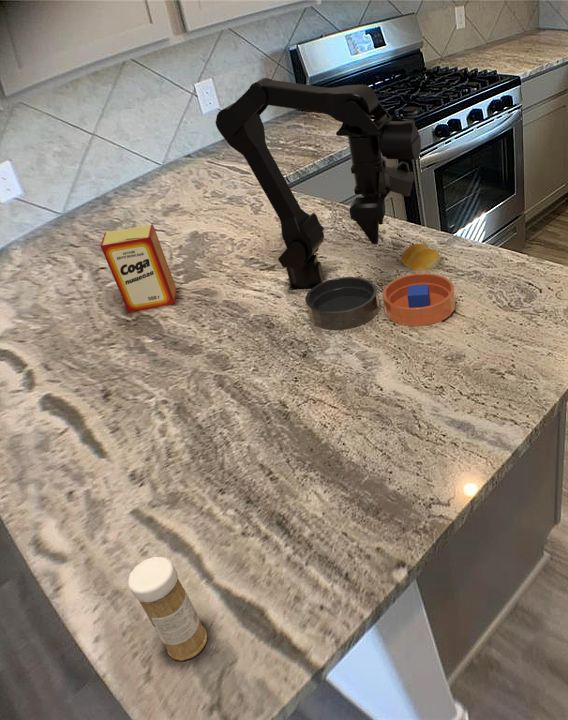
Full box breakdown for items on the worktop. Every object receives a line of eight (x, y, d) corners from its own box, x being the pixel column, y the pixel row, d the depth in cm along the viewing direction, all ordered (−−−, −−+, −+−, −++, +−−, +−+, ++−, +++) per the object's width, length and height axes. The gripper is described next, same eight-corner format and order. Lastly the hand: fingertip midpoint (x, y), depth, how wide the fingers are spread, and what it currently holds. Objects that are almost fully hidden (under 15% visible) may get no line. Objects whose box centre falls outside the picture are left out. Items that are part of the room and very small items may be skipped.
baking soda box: (128, 312, 141) (99, 243, 131) (131, 297, 146) (104, 230, 136) (174, 303, 142) (149, 235, 133) (176, 289, 148) (152, 222, 138)
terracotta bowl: (382, 330, 129) (379, 310, 126) (389, 293, 141) (386, 274, 138) (454, 327, 129) (453, 307, 126) (455, 290, 140) (454, 271, 137)
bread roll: (420, 276, 146) (418, 260, 143) (396, 263, 151) (394, 247, 149) (449, 263, 150) (447, 247, 148) (424, 251, 156) (423, 235, 153)
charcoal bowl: (303, 334, 130) (298, 314, 127) (316, 297, 141) (312, 278, 139) (375, 330, 129) (372, 311, 126) (383, 293, 141) (380, 275, 138)
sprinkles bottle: (172, 630, 79) (132, 559, 71) (211, 622, 79) (175, 551, 71) (164, 666, 75) (122, 595, 67) (206, 658, 76) (168, 587, 68)
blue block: (409, 312, 133) (407, 295, 130) (410, 302, 136) (408, 285, 134) (429, 311, 133) (427, 294, 130) (430, 301, 136) (428, 284, 133)
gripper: (405, 173, 117) (414, 252, 127) (412, 139, 133) (419, 212, 142) (343, 176, 118) (356, 255, 127) (357, 142, 133) (368, 215, 142)
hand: (377, 233), depth 134 cm, fingers open, 9 cm apart
